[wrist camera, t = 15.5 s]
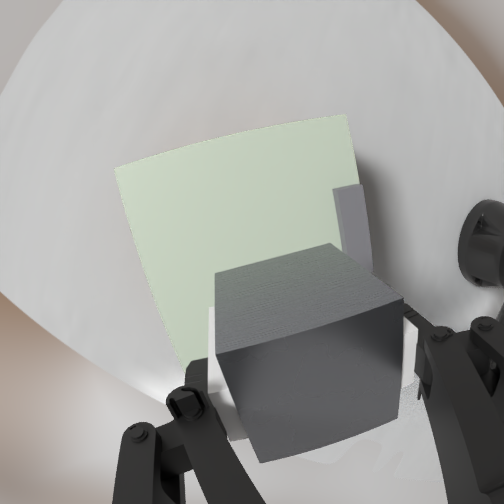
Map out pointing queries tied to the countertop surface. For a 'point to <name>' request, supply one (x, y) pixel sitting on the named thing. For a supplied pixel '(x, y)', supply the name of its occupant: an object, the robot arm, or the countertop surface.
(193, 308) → the lid
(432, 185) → the countertop surface
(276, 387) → the block
